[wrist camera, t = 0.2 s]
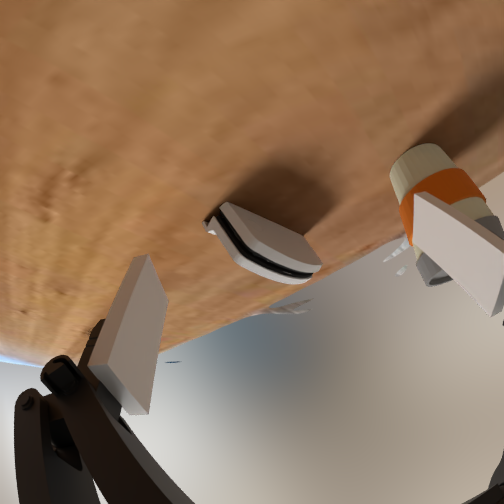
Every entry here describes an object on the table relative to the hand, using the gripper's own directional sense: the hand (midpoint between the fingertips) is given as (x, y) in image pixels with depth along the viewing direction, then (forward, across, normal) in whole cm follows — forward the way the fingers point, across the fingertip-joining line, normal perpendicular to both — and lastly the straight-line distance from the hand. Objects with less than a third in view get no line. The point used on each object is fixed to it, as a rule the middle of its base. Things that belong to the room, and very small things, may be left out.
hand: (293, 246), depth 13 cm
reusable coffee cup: (+22, +22, -4) cm, 31 cm away
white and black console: (+26, 0, -10) cm, 28 cm away
